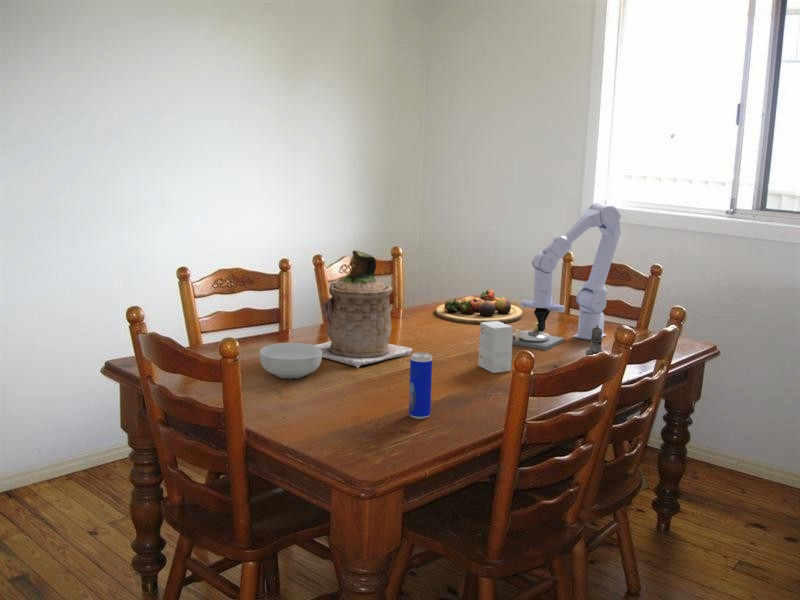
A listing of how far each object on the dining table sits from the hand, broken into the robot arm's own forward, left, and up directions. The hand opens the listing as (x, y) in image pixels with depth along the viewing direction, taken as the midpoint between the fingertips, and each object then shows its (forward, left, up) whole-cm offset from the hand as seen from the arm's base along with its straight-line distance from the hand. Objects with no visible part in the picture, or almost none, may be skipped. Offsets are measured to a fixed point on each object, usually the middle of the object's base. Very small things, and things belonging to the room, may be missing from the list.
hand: (541, 331), depth 277 cm
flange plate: (+5, -2, -2) cm, 5 cm away
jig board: (+4, -1, -3) cm, 5 cm away
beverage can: (+86, +9, -3) cm, 87 cm away
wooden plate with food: (-20, -34, -4) cm, 40 cm away
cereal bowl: (+80, -37, -3) cm, 89 cm away
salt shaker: (+16, +25, -3) cm, 30 cm away
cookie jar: (+51, -36, -3) cm, 63 cm away
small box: (+39, +4, -3) cm, 40 cm away
